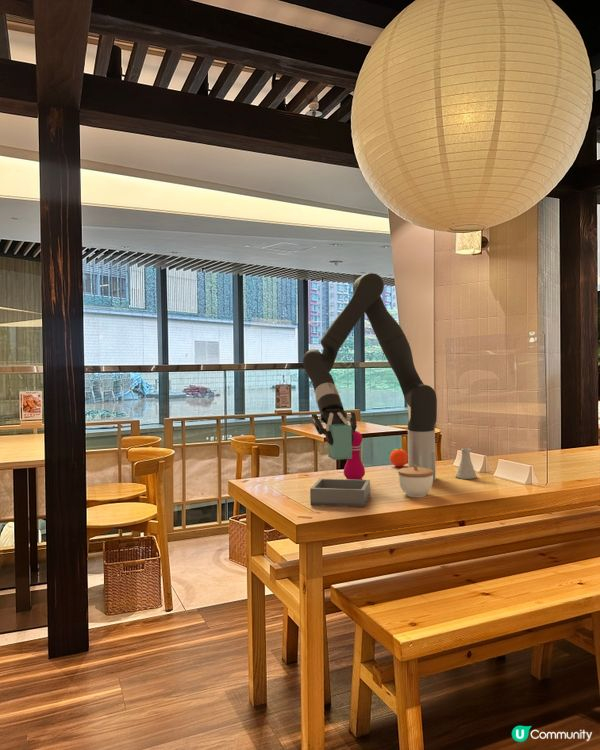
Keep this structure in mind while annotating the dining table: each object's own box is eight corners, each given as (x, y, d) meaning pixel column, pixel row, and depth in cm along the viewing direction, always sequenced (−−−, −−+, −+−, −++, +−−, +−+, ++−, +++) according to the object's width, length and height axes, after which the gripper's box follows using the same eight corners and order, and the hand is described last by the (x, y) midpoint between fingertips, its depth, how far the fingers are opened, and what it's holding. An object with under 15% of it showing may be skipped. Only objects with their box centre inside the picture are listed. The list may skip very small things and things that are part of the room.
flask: (480, 477, 210) (480, 448, 210) (471, 480, 205) (471, 451, 204) (461, 474, 215) (460, 446, 214) (451, 478, 209) (451, 449, 209)
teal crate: (345, 455, 185) (345, 423, 184) (351, 458, 179) (351, 425, 179) (328, 456, 183) (327, 424, 183) (334, 459, 178) (333, 426, 178)
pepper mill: (364, 487, 198) (362, 427, 197) (342, 487, 199) (341, 427, 198) (366, 482, 205) (364, 424, 204) (345, 482, 206) (343, 424, 206)
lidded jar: (399, 499, 182) (398, 468, 181) (398, 490, 192) (397, 462, 192) (435, 499, 180) (434, 468, 180) (432, 491, 191) (431, 462, 191)
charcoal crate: (370, 495, 187) (369, 479, 187) (364, 507, 173) (364, 490, 173) (320, 494, 191) (319, 478, 190) (310, 505, 177) (310, 488, 177)
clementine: (385, 467, 231) (384, 449, 231) (390, 464, 237) (390, 446, 237) (405, 468, 227) (404, 450, 227) (410, 465, 233) (410, 447, 233)
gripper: (309, 393, 186) (321, 436, 175) (352, 391, 190) (367, 433, 179) (304, 409, 191) (316, 451, 180) (347, 406, 195) (361, 448, 184)
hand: (341, 442), depth 180 cm, fingers closed on teal crate, 5 cm apart
